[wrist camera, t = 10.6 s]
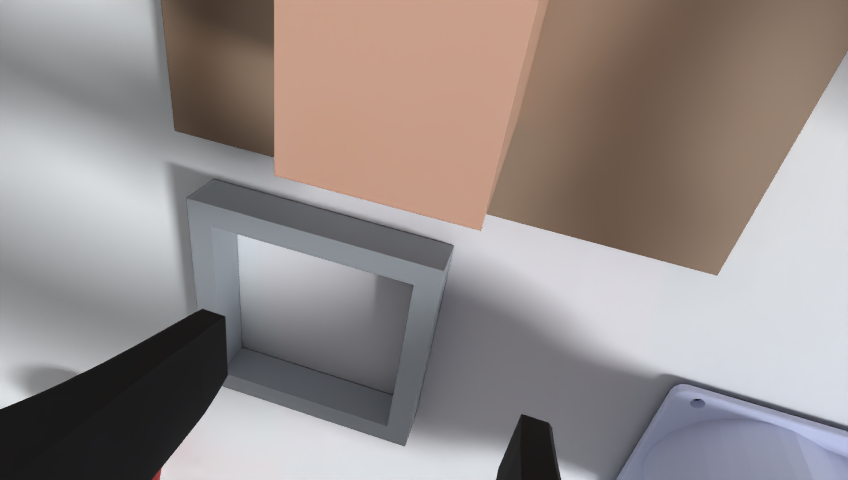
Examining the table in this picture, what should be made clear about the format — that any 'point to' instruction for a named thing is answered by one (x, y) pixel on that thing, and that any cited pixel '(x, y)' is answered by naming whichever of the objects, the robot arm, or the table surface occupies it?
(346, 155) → the peach cube with handle
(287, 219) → the collar
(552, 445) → the robot arm
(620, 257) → the table surface
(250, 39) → the board
